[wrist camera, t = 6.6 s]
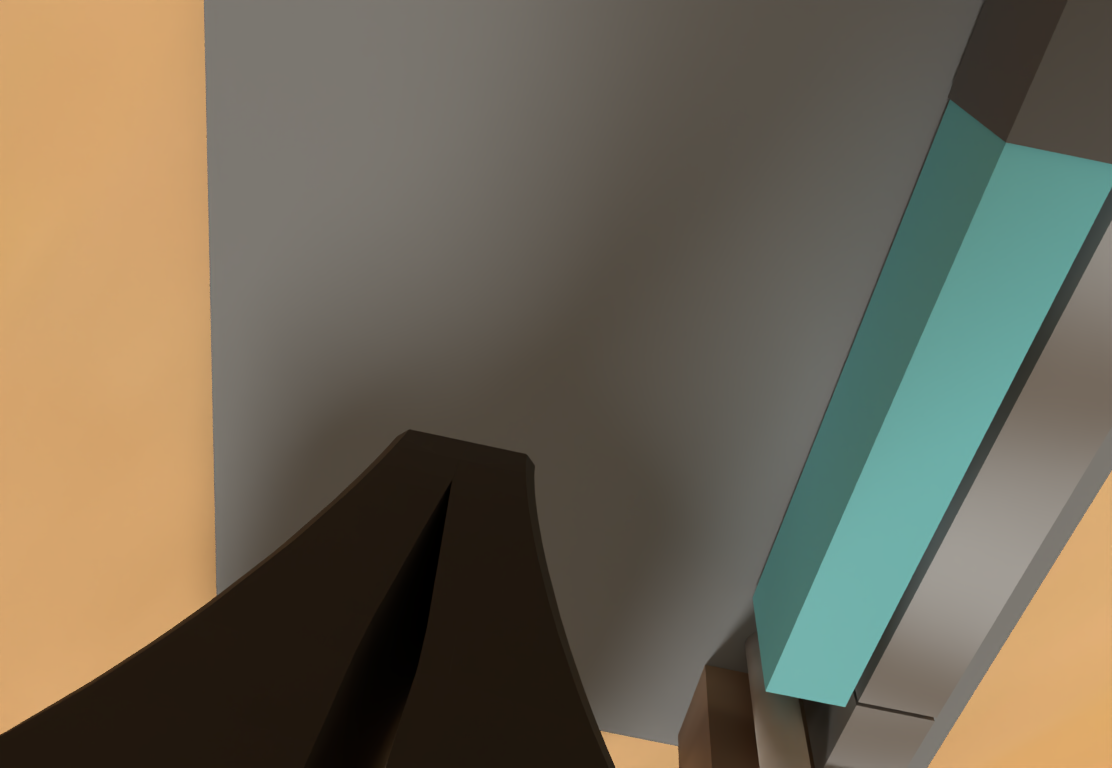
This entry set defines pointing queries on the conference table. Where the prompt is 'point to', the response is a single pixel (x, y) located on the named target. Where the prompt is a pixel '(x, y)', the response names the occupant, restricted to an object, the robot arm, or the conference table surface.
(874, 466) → the bar
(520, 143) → the mat
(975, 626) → the tongs base
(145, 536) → the conference table surface
